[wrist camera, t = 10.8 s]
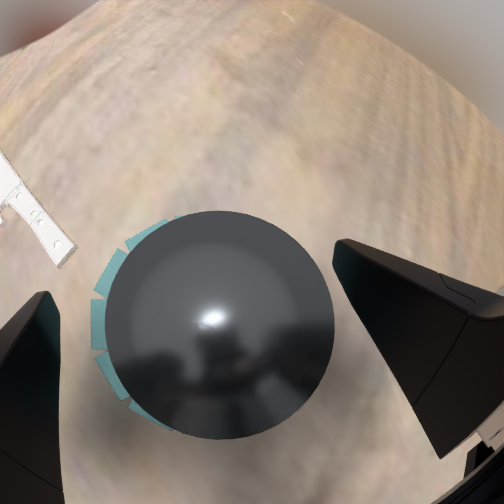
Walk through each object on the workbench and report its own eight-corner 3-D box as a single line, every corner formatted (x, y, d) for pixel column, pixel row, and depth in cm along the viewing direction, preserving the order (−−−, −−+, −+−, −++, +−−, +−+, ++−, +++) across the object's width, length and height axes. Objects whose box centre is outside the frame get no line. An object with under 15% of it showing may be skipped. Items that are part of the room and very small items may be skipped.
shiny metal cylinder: (242, 329, 17) (371, 331, 5) (194, 371, 16) (215, 478, 4) (200, 280, 17) (236, 170, 5) (151, 321, 16) (61, 306, 4)
